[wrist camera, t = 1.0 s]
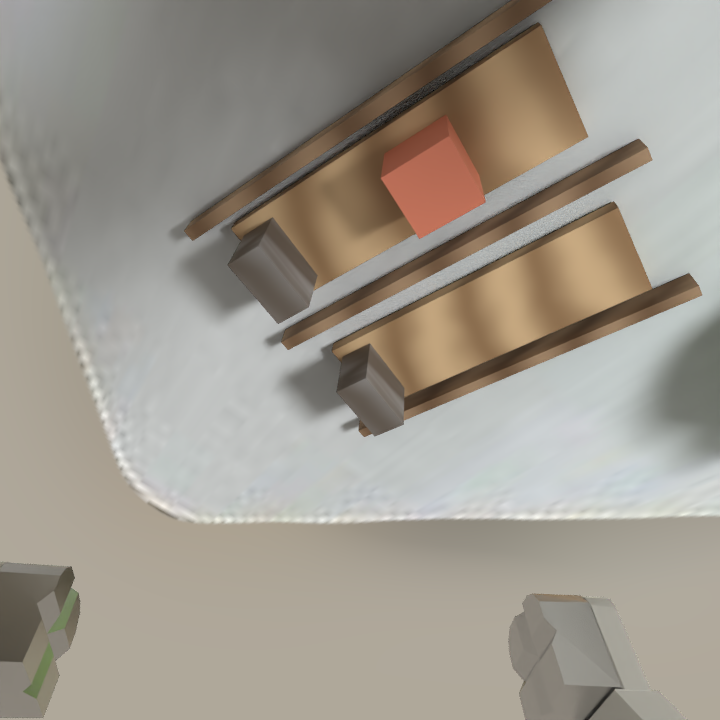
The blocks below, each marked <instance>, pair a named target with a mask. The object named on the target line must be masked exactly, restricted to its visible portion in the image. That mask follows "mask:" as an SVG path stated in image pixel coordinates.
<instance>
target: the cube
mask: <svg viewBox="0 0 720 720" xmlns="http://www.w3.org/2000/svg"><path fill="white" fill-rule="evenodd" d="M381 179H382V181H383V182H384V184H385V186H386V187H387V189H388V190H389V192H390V193H391V195H392V197H393V198H394V200H395V201H396V203H397V204H398V206H399V208H400V209H401V211H402V212H403V214H404V215H405V217H406V218H407V220H408V222H409V223H410V225H411V226H412V228H413V229H414V231H415V233H416V234H417V236H418V237H419V239H420V238H422V237H424V236H426V235H427V234H429V233H431V232H433V231H435V230H436V229H438V228H440V227H442V226H444V225H445V224H447V223H449V222H451V221H453V220H454V219H456V218H458V217H460V216H462V215H463V214H465V213H467V212H469V211H471V210H472V209H474V208H476V207H478V206H480V205H481V204H483V203H485V202H486V201H485V197H484V193H483V189H482V185H481V181H480V177H479V174H478V172H477V171H476V169H475V167H474V165H473V163H472V161H471V159H470V158H469V156H468V154H467V152H466V150H465V148H464V147H463V145H462V143H461V141H460V139H459V137H458V135H457V134H456V132H455V130H454V128H453V126H452V124H451V123H450V121H449V119H448V117H447V115H444V116H443V117H441V118H440V119H438V120H436V121H435V122H433V123H432V124H430V125H429V126H427V127H426V128H424V129H422V130H421V131H419V132H418V133H416V134H415V135H413V136H411V137H410V138H408V139H407V140H405V141H404V142H402V143H400V144H399V145H397V146H396V147H394V148H393V149H391V150H389V151H388V152H386V153H385V154H384V160H383V166H382V173H381Z"/></svg>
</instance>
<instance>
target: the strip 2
mask: <svg viewBox="0 0 720 720" xmlns="http://www.w3.org/2000/svg"><path fill="white" fill-rule="evenodd" d="M651 289H652V287H651V284H650V282H649V279H648V277H647V275H646V272H645V270H644V268H643V265H642V263H641V260H640V258H639V256H638V253H637V251H636V249H635V246H634V244H633V241H632V239H631V237H630V234H629V232H628V230H627V227H626V225H625V222H624V220H623V218H622V215H621V213H620V211H619V208H618V207H617V205H616V204H615V202H612V203H610V204H608V205H606V206H604V207H602V208H600V209H598V210H596V211H594V212H592V213H590V214H588V215H586V216H584V217H582V218H580V219H578V220H576V221H574V222H572V223H570V224H568V225H566V226H564V227H562V228H560V229H558V230H557V231H555V232H553V233H551V234H549V235H547V236H545V237H543V238H541V239H539V240H537V241H535V242H533V243H531V244H529V245H527V246H525V247H523V248H521V249H519V250H517V251H515V252H513V253H511V254H509V255H507V256H505V257H503V258H501V259H499V260H497V261H495V262H493V263H491V264H489V265H487V266H486V267H484V268H482V269H480V270H478V271H476V272H474V273H472V274H470V275H468V276H466V277H464V278H462V279H460V280H458V281H456V282H454V283H452V284H450V285H448V286H446V287H444V288H442V289H440V290H438V291H436V292H434V293H432V294H430V295H428V296H426V297H424V298H422V299H420V300H418V301H416V302H415V303H413V304H411V305H409V306H407V307H405V308H403V309H401V310H399V311H397V312H395V313H393V314H391V315H389V316H387V317H385V318H383V319H381V320H379V321H377V322H375V323H373V324H371V325H369V326H367V327H365V328H363V329H361V330H359V331H357V332H355V333H353V334H351V335H349V336H347V337H346V338H344V339H342V340H340V341H338V342H336V343H334V344H333V348H332V352H333V353H334V354H335V356H336V357H337V358H338V359H339V361H340V362H341V369H340V375H339V380H338V386H337V393H338V394H339V395H340V397H341V398H342V399H343V400H344V401H345V402H346V404H347V405H348V406H349V407H350V408H351V409H352V411H353V412H354V413H355V414H356V415H357V416H358V418H359V419H360V420H361V421H362V422H363V423H364V425H365V426H366V427H367V428H368V429H369V430H370V432H371V433H372V434H373V435H374V436H377V435H380V434H382V433H384V432H387V431H389V430H392V429H394V428H396V427H399V426H401V425H404V397H406V396H409V395H411V394H413V393H415V392H418V391H420V390H422V389H425V388H427V387H429V386H431V385H434V384H436V383H438V382H441V381H443V380H445V379H447V378H450V377H452V376H454V375H457V374H459V373H461V372H464V371H466V370H468V369H470V368H473V367H475V366H477V365H480V364H482V363H484V362H486V361H489V360H491V359H493V358H496V357H498V356H500V355H502V354H505V353H507V352H509V351H512V350H514V349H516V348H518V347H521V346H523V345H525V344H528V343H530V342H532V341H534V340H537V339H539V338H541V337H544V336H546V335H548V334H550V333H553V332H555V331H557V330H560V329H562V328H564V327H566V326H569V325H571V324H573V323H576V322H578V321H580V320H582V319H585V318H587V317H589V316H592V315H594V314H596V313H598V312H601V311H603V310H605V309H608V308H610V307H612V306H614V305H617V304H619V303H621V302H624V301H626V300H628V299H630V298H633V297H635V296H637V295H640V294H642V293H644V292H646V291H649V290H651Z"/></svg>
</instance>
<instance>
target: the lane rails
mask: <svg viewBox="0 0 720 720" xmlns="http://www.w3.org/2000/svg"><path fill="white" fill-rule="evenodd" d="M550 1H552V0H511V1H510V2H508V3H507V4H506V5H504V6H503V7H501V8H500V9H498V10H497V11H495V12H494V13H493V14H491V15H490V16H488V17H487V18H485V19H484V20H482V21H481V22H479V23H478V24H477V25H475V26H474V27H472V28H471V29H469V30H468V31H466V32H465V33H463V34H462V35H461V36H459V37H458V38H456V39H455V40H453V41H452V42H450V43H449V44H448V45H446V46H445V47H443V48H442V49H440V50H439V51H437V52H436V53H434V54H433V55H432V56H430V57H429V58H427V59H426V60H424V61H423V62H421V63H420V64H418V65H417V66H416V67H414V68H413V69H411V70H410V71H408V72H407V73H405V74H404V75H402V76H401V77H400V78H398V79H397V80H395V81H394V82H392V83H391V84H389V85H388V86H387V87H385V88H384V89H382V90H381V91H379V92H378V93H376V94H375V95H373V96H372V97H371V98H369V99H368V100H366V101H365V102H363V103H362V104H360V105H359V106H357V107H356V108H355V109H353V110H352V111H350V112H349V113H347V114H346V115H344V116H343V117H342V118H340V119H339V120H337V121H336V122H334V123H333V124H331V125H330V126H328V127H327V128H326V129H324V130H323V131H321V132H320V133H318V134H317V135H315V136H314V137H312V138H311V139H310V140H308V141H307V142H305V143H304V144H302V145H301V146H299V147H298V148H297V149H295V150H294V151H292V152H291V153H289V154H288V155H286V156H285V157H283V158H282V159H281V160H279V161H278V162H276V163H275V164H273V165H272V166H270V167H269V168H267V169H266V170H265V171H263V172H262V173H260V174H259V175H257V176H256V177H254V178H253V179H251V180H250V181H249V182H247V183H246V184H244V185H243V186H241V187H240V188H238V189H237V190H236V191H234V192H233V193H231V194H230V195H228V196H227V197H225V198H224V199H222V200H221V201H220V202H218V203H217V204H215V205H214V206H212V207H211V208H209V209H208V210H206V211H205V212H204V213H202V214H201V215H199V216H198V217H196V218H195V219H193V220H192V221H191V222H190V224H189V225H188V226H187V228H186V229H185V230H184V232H185V233H186V234H187V235H188V236H189V237H190V239H191V240H192V241H193V240H195V239H196V238H198V237H199V236H201V235H202V234H204V233H205V232H207V231H208V230H210V229H211V228H213V227H214V226H216V225H217V224H219V223H220V222H222V221H223V220H225V219H226V218H228V217H229V216H231V215H232V214H234V213H235V212H237V211H238V210H240V209H241V208H243V207H244V206H246V205H247V204H249V203H250V202H252V201H253V200H255V199H256V198H258V197H259V196H261V195H262V194H264V193H265V192H267V191H268V190H270V189H271V188H272V187H274V186H275V185H277V184H278V183H280V182H281V181H283V180H284V179H286V178H287V177H289V176H290V175H292V174H293V173H295V172H296V171H298V170H299V169H301V168H302V167H304V166H305V165H307V164H308V163H310V162H311V161H313V160H314V159H316V158H317V157H319V156H320V155H322V154H323V153H325V152H326V151H328V150H329V149H331V148H332V147H334V146H335V145H337V144H338V143H340V142H341V141H343V140H344V139H346V138H347V137H349V136H350V135H352V134H353V133H355V132H356V131H358V130H359V129H361V128H362V127H364V126H365V125H367V124H368V123H370V122H371V121H373V120H374V119H376V118H377V117H379V116H380V115H382V114H383V113H385V112H386V111H388V110H389V109H391V108H392V107H394V106H395V105H397V104H398V103H399V102H401V101H402V100H404V99H405V98H407V97H408V96H410V95H411V94H413V93H414V92H416V91H417V90H419V89H420V88H422V87H423V86H425V85H426V84H428V83H429V82H431V81H432V80H434V79H435V78H437V77H438V76H440V75H441V74H443V73H444V72H446V71H447V70H449V69H450V68H452V67H453V66H455V65H456V64H458V63H459V62H461V61H462V60H464V59H465V58H467V57H468V56H470V55H471V54H473V53H474V52H476V51H477V50H479V49H480V48H482V47H483V46H485V45H486V44H488V43H489V42H491V41H492V40H494V39H495V38H497V37H498V36H500V35H501V34H503V33H504V32H506V31H507V30H509V29H510V28H512V27H513V26H515V25H516V24H518V23H519V22H521V21H522V20H524V19H525V18H526V17H528V16H529V15H531V14H532V13H534V12H535V11H537V10H538V9H540V8H541V7H543V6H544V5H546V4H547V3H549V2H550ZM650 161H652V158H651V155H650V152H649V150H648V147H647V146H646V145H645V144H644V143H643V142H642V141H641V140H640V139H637V140H636V141H634V142H632V143H630V144H628V145H626V146H624V147H623V148H621V149H619V150H617V151H615V152H613V153H611V154H610V155H608V156H606V157H604V158H602V159H600V160H599V161H597V162H595V163H593V164H591V165H589V166H587V167H586V168H584V169H582V170H580V171H578V172H576V173H574V174H573V175H571V176H569V177H567V178H565V179H563V180H561V181H560V182H558V183H556V184H554V185H552V186H550V187H549V188H547V189H545V190H543V191H541V192H539V193H537V194H536V195H534V196H532V197H530V198H528V199H526V200H524V201H523V202H521V203H519V204H517V205H515V206H513V207H512V208H510V209H508V210H506V211H504V212H502V213H500V214H499V215H497V216H495V217H493V218H491V219H489V220H487V221H486V222H484V223H482V224H480V225H478V226H476V227H474V228H473V229H471V230H469V231H467V232H465V233H463V234H462V235H460V236H458V237H456V238H454V239H452V240H450V241H449V242H447V243H445V244H443V245H441V246H439V247H437V248H436V249H434V250H432V251H430V252H428V253H426V254H424V255H423V256H421V257H419V258H417V259H415V260H413V261H412V262H410V263H408V264H406V265H404V266H402V267H400V268H399V269H397V270H395V271H393V272H391V273H389V274H387V275H386V276H384V277H382V278H380V279H378V280H376V281H374V282H373V283H371V284H369V285H367V286H365V287H363V288H362V289H360V290H358V291H356V292H354V293H352V294H350V295H349V296H347V297H345V298H343V299H341V300H339V301H337V302H336V303H334V304H332V305H330V306H328V307H326V308H324V309H323V310H321V311H319V312H317V313H315V314H313V315H312V316H310V317H308V318H306V319H304V320H302V321H300V322H299V323H297V324H295V325H293V326H291V327H289V328H287V329H286V330H285V332H284V335H283V338H282V341H281V343H282V344H283V345H284V346H285V347H286V348H287V350H289V349H291V348H293V347H295V346H297V345H299V344H301V343H303V342H304V341H306V340H308V339H310V338H312V337H314V336H316V335H318V334H320V333H322V332H324V331H326V330H327V329H329V328H331V327H333V326H335V325H337V324H339V323H341V322H343V321H345V320H347V319H349V318H350V317H352V316H354V315H356V314H358V313H360V312H362V311H364V310H366V309H368V308H370V307H372V306H373V305H375V304H377V303H379V302H381V301H383V300H385V299H387V298H389V297H391V296H393V295H395V294H397V293H398V292H400V291H402V290H404V289H406V288H408V287H410V286H412V285H414V284H416V283H418V282H420V281H421V280H423V279H425V278H427V277H429V276H431V275H433V274H435V273H437V272H439V271H441V270H443V269H444V268H446V267H448V266H450V265H452V264H454V263H456V262H458V261H460V260H462V259H464V258H466V257H467V256H469V255H471V254H473V253H475V252H477V251H479V250H481V249H483V248H485V247H487V246H489V245H491V244H492V243H494V242H496V241H498V240H500V239H502V238H504V237H506V236H508V235H510V234H512V233H514V232H515V231H517V230H519V229H521V228H523V227H525V226H527V225H529V224H531V223H533V222H535V221H537V220H538V219H540V218H542V217H544V216H546V215H548V214H550V213H552V212H554V211H556V210H558V209H560V208H561V207H563V206H565V205H567V204H569V203H571V202H573V201H575V200H577V199H579V198H581V197H583V196H585V195H586V194H588V193H590V192H592V191H594V190H596V189H598V188H600V187H602V186H604V185H606V184H608V183H609V182H611V181H613V180H615V179H617V178H619V177H621V176H623V175H625V174H627V173H629V172H631V171H632V170H634V169H636V168H638V167H640V166H642V165H644V164H646V163H648V162H650ZM699 296H702V293H701V290H700V287H699V285H698V284H697V283H696V281H695V280H694V279H693V277H692V276H691V275H690V274H687V275H684V276H682V277H680V278H677V279H675V280H673V281H671V282H668V283H666V284H664V285H661V286H659V287H657V288H655V289H652V290H650V291H648V292H645V293H643V294H641V295H639V296H636V297H634V298H632V299H629V300H627V301H625V302H623V303H620V304H618V305H616V306H613V307H611V308H609V309H607V310H604V311H602V312H600V313H597V314H595V315H593V316H591V317H588V318H586V319H584V320H581V321H579V322H577V323H574V324H572V325H570V326H568V327H565V328H563V329H561V330H558V331H556V332H554V333H552V334H549V335H547V336H545V337H542V338H540V339H538V340H536V341H533V342H531V343H529V344H526V345H524V346H522V347H520V348H517V349H515V350H513V351H510V352H508V353H506V354H504V355H501V356H499V357H497V358H494V359H492V360H490V361H488V362H485V363H483V364H481V365H478V366H476V367H474V368H471V369H469V370H467V371H465V372H462V373H460V374H458V375H455V376H453V377H451V378H449V379H446V380H444V381H442V382H439V383H437V384H435V385H433V386H430V387H428V388H426V389H423V390H421V391H419V392H417V393H414V394H412V395H410V396H407V397H405V398H404V420H406V419H409V418H411V417H413V416H416V415H418V414H420V413H423V412H425V411H428V410H430V409H432V408H435V407H437V406H440V405H442V404H444V403H447V402H449V401H451V400H454V399H456V398H459V397H461V396H463V395H466V394H468V393H471V392H473V391H475V390H478V389H480V388H482V387H485V386H487V385H490V384H492V383H494V382H497V381H499V380H502V379H504V378H506V377H509V376H511V375H513V374H516V373H518V372H521V371H523V370H525V369H528V368H530V367H533V366H535V365H537V364H540V363H542V362H544V361H547V360H549V359H552V358H554V357H556V356H559V355H561V354H564V353H566V352H568V351H571V350H573V349H575V348H578V347H580V346H583V345H585V344H587V343H590V342H592V341H595V340H597V339H599V338H602V337H604V336H606V335H609V334H611V333H614V332H616V331H618V330H621V329H623V328H626V327H628V326H630V325H633V324H635V323H637V322H640V321H642V320H645V319H647V318H649V317H652V316H654V315H656V314H659V313H661V312H664V311H666V310H668V309H671V308H673V307H676V306H678V305H680V304H683V303H685V302H687V301H690V300H692V299H695V298H697V297H699ZM359 432H360V433H361V434H362V435H363V436H364V437H366V436H368V435H370V434H372V433H371V432H370V430H369V429H368V428H367V427H366V426H365V425H364V423H363V422H362V421H361V420H360V423H359Z"/></svg>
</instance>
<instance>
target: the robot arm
mask: <svg viewBox="0 0 720 720" xmlns="http://www.w3.org/2000/svg"><path fill="white" fill-rule="evenodd" d="M74 579H75V577H74V573H73V570H72V567H71V566H70V567H69V566H53V565H37V564H21V563H9V562H0V718H43V717H44V715H45V712H46V710H47V707H48V704H49V702H50V699H51V696H52V694H53V691H54V689H55V686H56V683H57V681H58V678H59V672H58V669H57V665H56V662H55V661H56V660H57V659H58V658H59V657H61V656H62V655H63V654H64V653H65V652H66V651H67V650H68V649H69V648H70V646H71V644H72V641H73V638H74V635H75V632H76V628H77V623H78V619H79V615H80V598H79V593H78V592H77V591H75V590H74V589H72V588H71V586H72V584H73V581H74ZM522 604H523V608H524V612H523V613H521V614H519V615H517V616H515V618H514V620H513V622H512V624H511V626H510V631H509V641H508V642H509V652H510V657H511V662H512V666H513V669H514V670H515V671H516V672H517V673H518V675H519V676H520V677H521V678H522V679H523V680H524V682H523V685H522V687H521V690H520V692H519V695H520V699H521V703H522V707H523V711H524V715H525V720H688V719H687V718H686V717H685V716H684V715H683V714H682V713H681V712H680V711H679V710H678V709H677V708H676V707H675V706H674V705H673V704H672V703H671V702H670V701H669V700H668V699H667V698H666V697H665V696H664V695H663V694H662V693H661V692H660V691H658V690H651V688H650V686H649V683H648V681H647V678H646V676H645V674H644V672H643V669H642V667H641V665H640V662H639V660H638V657H637V655H636V653H635V650H634V648H633V646H632V643H631V641H630V639H629V636H628V634H627V632H626V629H625V627H624V625H623V622H622V620H621V618H620V616H619V613H618V610H617V608H616V606H615V605H614V603H613V602H612V601H611V600H610V599H608V598H604V597H587V596H586V597H585V596H577V595H552V594H530V595H528V596H526V599H525V600H524V602H523V603H522Z"/></svg>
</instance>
